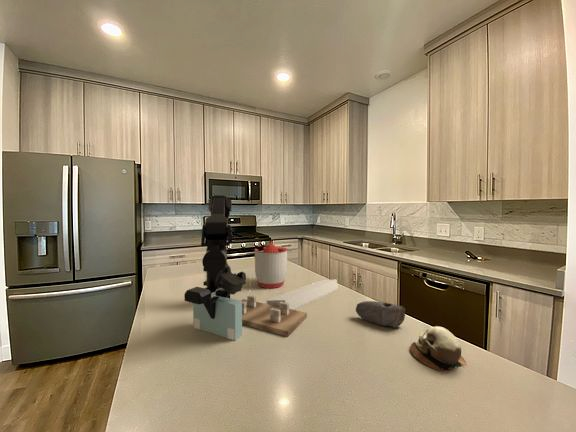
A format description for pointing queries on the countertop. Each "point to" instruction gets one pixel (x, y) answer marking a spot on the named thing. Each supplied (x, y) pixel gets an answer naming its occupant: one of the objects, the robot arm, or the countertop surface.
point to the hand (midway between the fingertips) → (216, 316)
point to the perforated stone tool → (381, 313)
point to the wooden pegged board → (271, 316)
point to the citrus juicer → (271, 266)
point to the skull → (438, 349)
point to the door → (220, 318)
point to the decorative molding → (305, 294)
